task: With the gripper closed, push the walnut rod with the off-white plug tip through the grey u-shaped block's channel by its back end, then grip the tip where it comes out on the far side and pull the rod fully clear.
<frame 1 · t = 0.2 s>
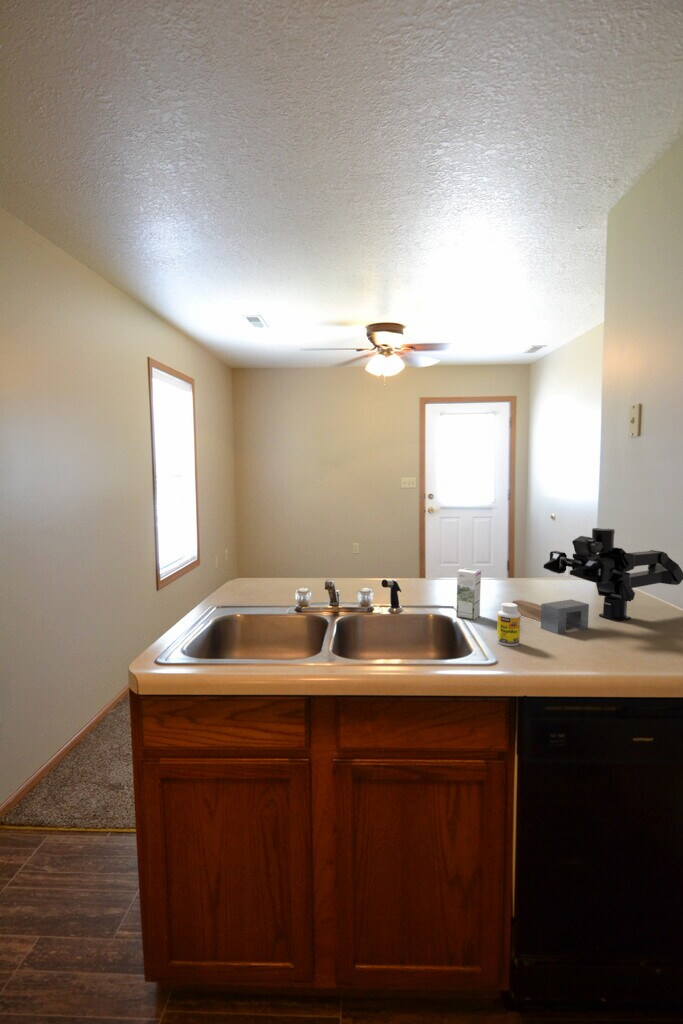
hand: (556, 569, 148), 17 cm above the table, tool horizontal, fingers open, 9 cm apart
grey u-shaped block: (564, 628, 149), on the table
syrup box: (468, 617, 160), on the table
supplement bottle: (508, 644, 136), on the table
plug rod: (536, 619, 158), on the table
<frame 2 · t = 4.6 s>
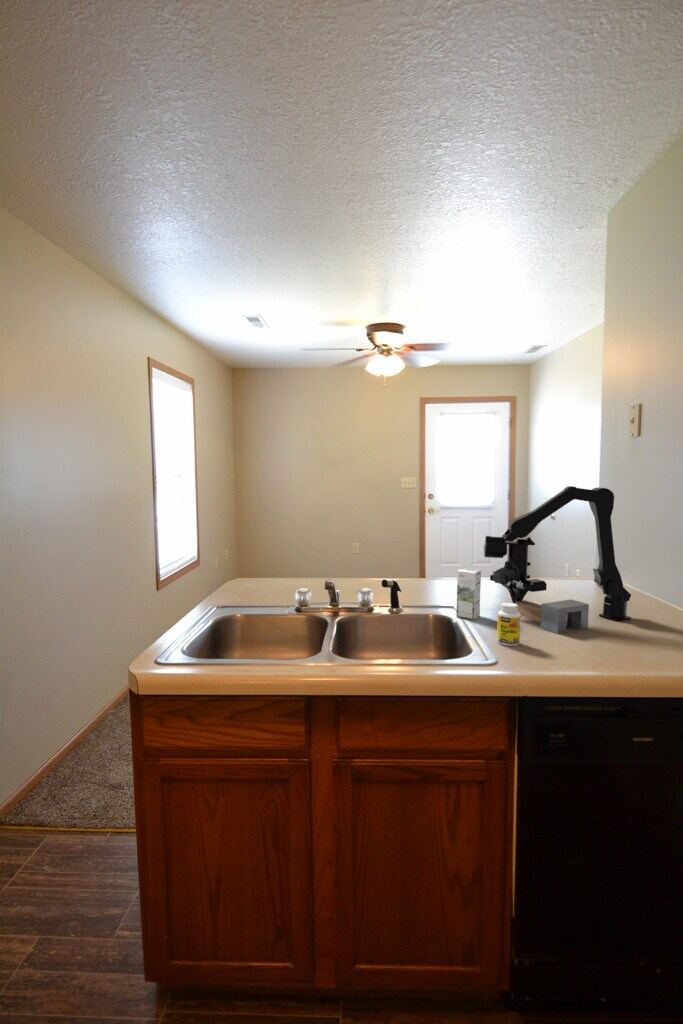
hand: (516, 607, 165), 1 cm above the table, tool pointing down, fingers closed
plug rod: (539, 620, 157), on the table, touching gripper
everything else where it was.
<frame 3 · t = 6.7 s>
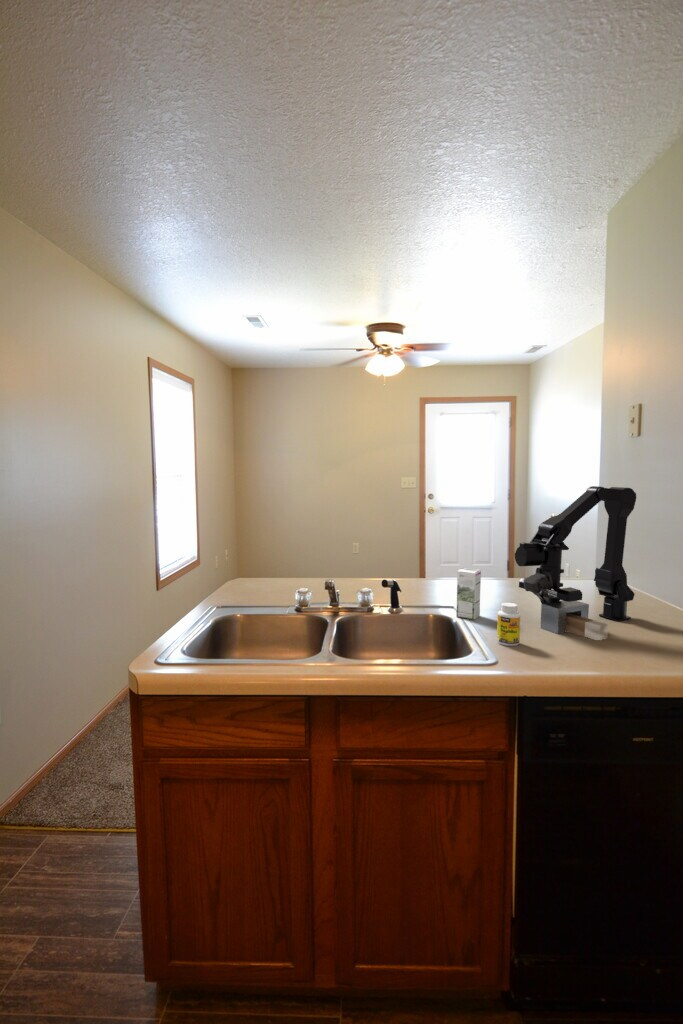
hand: (547, 617, 154), 2 cm above the table, tool pointing down, fingers closed
plug rod: (576, 631, 146), on the table
everything else where it was.
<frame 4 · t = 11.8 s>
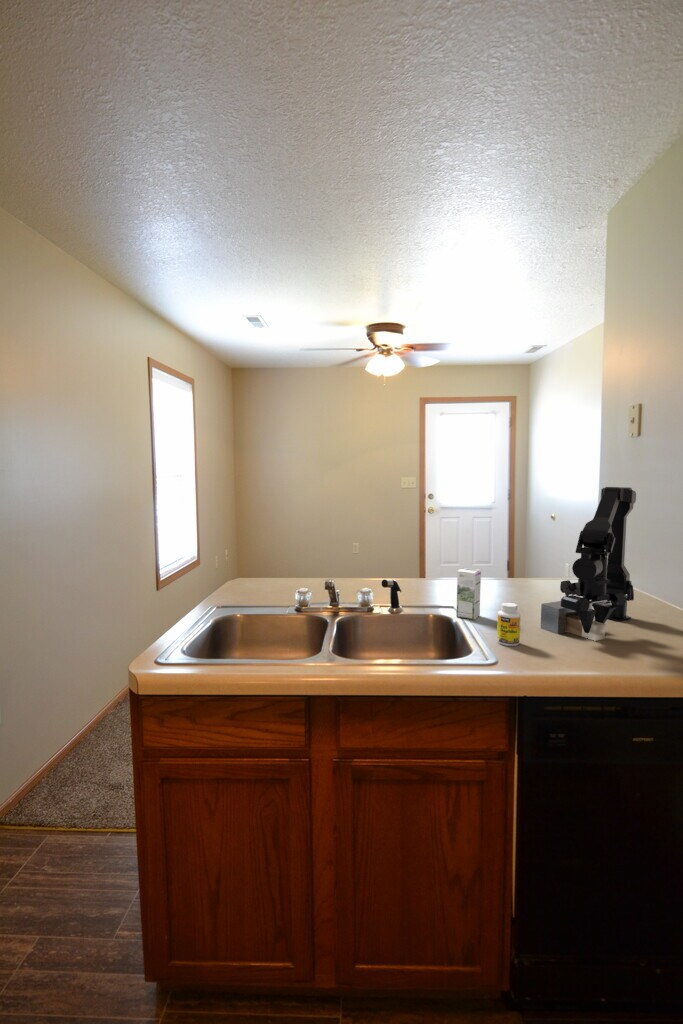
hand: (592, 631, 141), 2 cm above the table, tool pointing down, fingers closed on plug rod, 4 cm apart
plug rod: (574, 631, 146), on the table, touching gripper
everything else where it was.
when the fingers open (2 cm above the table, at t = 15.7 s): plug rod stays where it is, on the table.
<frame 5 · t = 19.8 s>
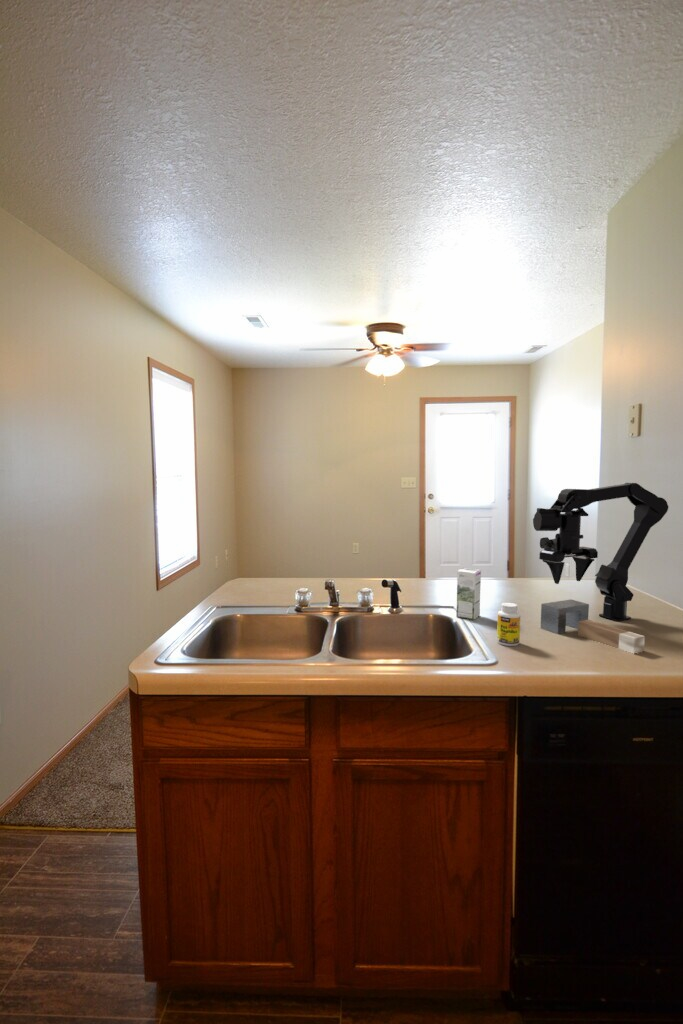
hand: (567, 582, 158), 11 cm above the table, tool pointing down, fingers open, 9 cm apart
plug rod: (609, 643, 136), on the table
everything else where it was.
at the end: plug rod inside the target area (6.2 cm from its centre), on the table; the gripper is holding nothing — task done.
